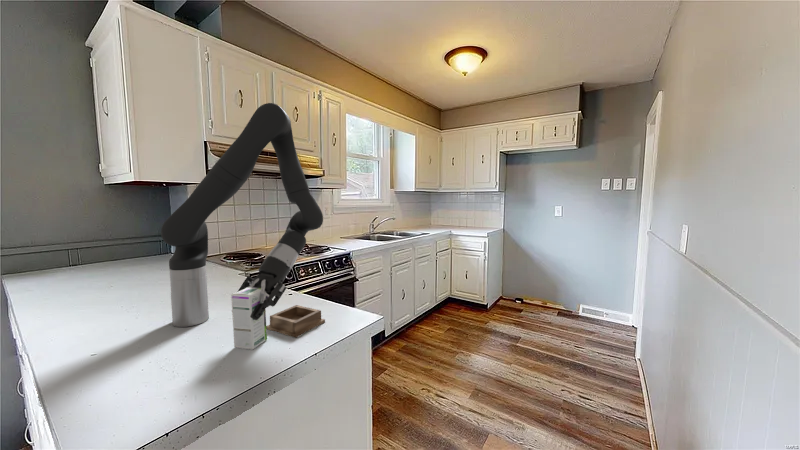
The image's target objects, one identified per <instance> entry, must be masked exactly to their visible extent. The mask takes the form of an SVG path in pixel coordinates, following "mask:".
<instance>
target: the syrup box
mask: <svg viewBox="0 0 800 450" xmlns="http://www.w3.org/2000/svg"><path fill="white" fill-rule="evenodd" d="M237 291H238V290H237ZM237 291H236V292H234V293H231V294H230V295H231V297H230V298H231V299H230V300H231V312H232V313H231V315H232V327H233V329H232V331H233V343H234V344H233V346H234V348H238V349H243V350H244V349H246V350H252V351H253V350H255V349H256V348H257V347H259V346H260V345H261V344H263V342H265V341H267V339H268V334H267V333H268V332H267V330H268V329H266V326H267V314H266V312H267V310H266V309H265V310H264V312H263V314H262V315H261V317H260V318H259V319H258V320H254V319H252V318H251V317H250V315H251V314H252V312H253V311H254V309H255V308H256V306H257V305H258V303H259V304H260V298H261V296H260V292H261V288H254V287H252V288H245V289H243V290H241V291H238V292H237Z"/></svg>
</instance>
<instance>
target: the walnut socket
mask: <svg viewBox="0 0 800 450" xmlns="http://www.w3.org/2000/svg"><path fill="white" fill-rule="evenodd" d="M324 323H326V319H324V318H322V310H320V309H316V308H312V307H306V306H303V305H298V304H295V305H293V306H290V307H289V308H286V309H283V310H280V311H279V312H276V313H274V314H271V315H269V324H268V325H266V329H267V330H269V331H272V332H274V333H279V334H281V335H284V336H289V337H292V338H295V339H296V338H298V337H300V336H302V335H304V334H306V333H308V332H309V331H311V330H313V329H315V328H316V327H318V326H320V325H323V324H324Z"/></svg>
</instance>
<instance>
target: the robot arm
mask: <svg viewBox="0 0 800 450" xmlns="http://www.w3.org/2000/svg"><path fill="white" fill-rule="evenodd" d="M269 143H271V145H272V147H273V150H274V152H275V155H276V158H277V162H278V167H279V174H280V179H281V182H282V185H283V188H284V190H285V194H286V197H287V199H288V201H289V203H291V204H294V205H296V206H297V208H298V210H299V211H297V212H295V213H294V214H293V215H292V217H290V220H289V221H288V223H287V226H286V229H285V232H284V233H283V235H282V236H281V238H280V239H279V241H278V242H277V243H276V245H275V246H273V248H272V249H271V250H270V252H269V253H268V254H267V256H266V257H265V259H264V260H263V262H262V263H261V265H260V266H259V267H258V275H256V276H255V277H252V276H247V277H246V278H245V279H244V280H243V282H242V283H241V285H240V287H239V288H238V290H237V291H236V292H238V291H241V290H243V289H245V288H252V287H254V288H261V292H260V296H261V298H260V304H259V303H258V305H257V306H256V308H255V309H254V311H253V312H252V314H251V315H250V317H251V318H252V319H254V320H258V319H259V318H260V317H261V315H262V314H263V312H264V310H266V309H267V308H269V307H272V308H274V307H275V306H276V304H277V303H278V301H280V299H281V297H282V296H283V295H284V293H285V291H286V290H287V286H285V284H284V281H285V279H286V278H287V276H288V275H289V274H290V272H291V270H292V269H293V267H294V265H295V263H296V261H297V259H298V257H299V255H300V254H301V252H302V251H303V250H304V247H305V246H306V243H307V239H306V237H305V236H306V234H307V233H308V232H309V231H310V232H311V231H314V230H318V229H320V228H321V226H322V225H323V223H324V214H323V212H322V210H321V208H320V206H319V205H318V202H317V201H316V199H315V198H314V196H313V195H312V194H311V191H310V187H309V184H308V181H307V179H306V176H305V173H304V171H303V167H302V165H301V162H300V160H299V157H298V153H297V151H296V146H295V141H294V135H293V128H292V121H291V119H290V116H289V114H288V113H286V111H285V110H284V109H283V108H282V107H281V105H278V104H276V103H274V102H267V103H264V104H261V105H260V106H259V107H257V109H256V110H255V112H253V114H252V116H251V117H250V119H249V121H248V122H247V124H246V125H245V127H244V128H243V130H242V131H241V132H240V134H239V136H237V138H236V139H235V140H234V141H233V143H231V145H230V146H229V147H228V148H227V149H226V150H225V152H224V153H223V154H222V156H220V158H219V159H218V160H217V161H216V162H215V164H214V165H213V166H212V167H211V169H210V170H209V171H208V172H207V174H206V175H205V176H204V177H203V178H202V180H201V181H200V182H199V183H198V185H197V186H196V188H195V189H194V190H193V191H192V193H191V194H190V196H189V197H188V198H186V200H185V201H184V202H183V203H181V205H180V206H179V207H178V208H177V209H176V210H175V211H174V212H173V213H171V215H169V216H168V217H167V219H166V220H165V221H164V222H163V224H162V226H161V229H160V234H161V238H162V240H163V241H164V243H165V244H167V245H169V246H171V247H174V248H175V249H174V253H173V255H172V256H171V258H170V259H169V262H168V266H169V269H168V270H169V282H170V302H171V303H170V304H171V319H172V325H173V326H174V327H177V328H186V327H192V326H193V327H194V326H196V325H200V324H202V323H204V322H206V321H207V320H209V319H210V314H209V312H210V311H209V296H208V279H207V278H208V276H207V258H208V254H209V230H208V225H207V223H206V220H207V219H208V218H209V217H210V215H211V214H212V213H213V212H214V211H216V210H217V209H218V208H220V207H221V206H223V205H224V204H225V203H226V202H227V201H228V200H230V199H231V198H232V197H234V195H235V194H236V193H238V192H239V191H240V189H241V188H242V187H243V186H244V184H245V183H246V182H247V181H248V179H249V178H250V176H251V174H252V172H253V171H254V169H255V166H256V164H257V161H258V159H259V157H260V155H261V153H262V151H264V149H265V148H266V147H267V145H269Z"/></svg>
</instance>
